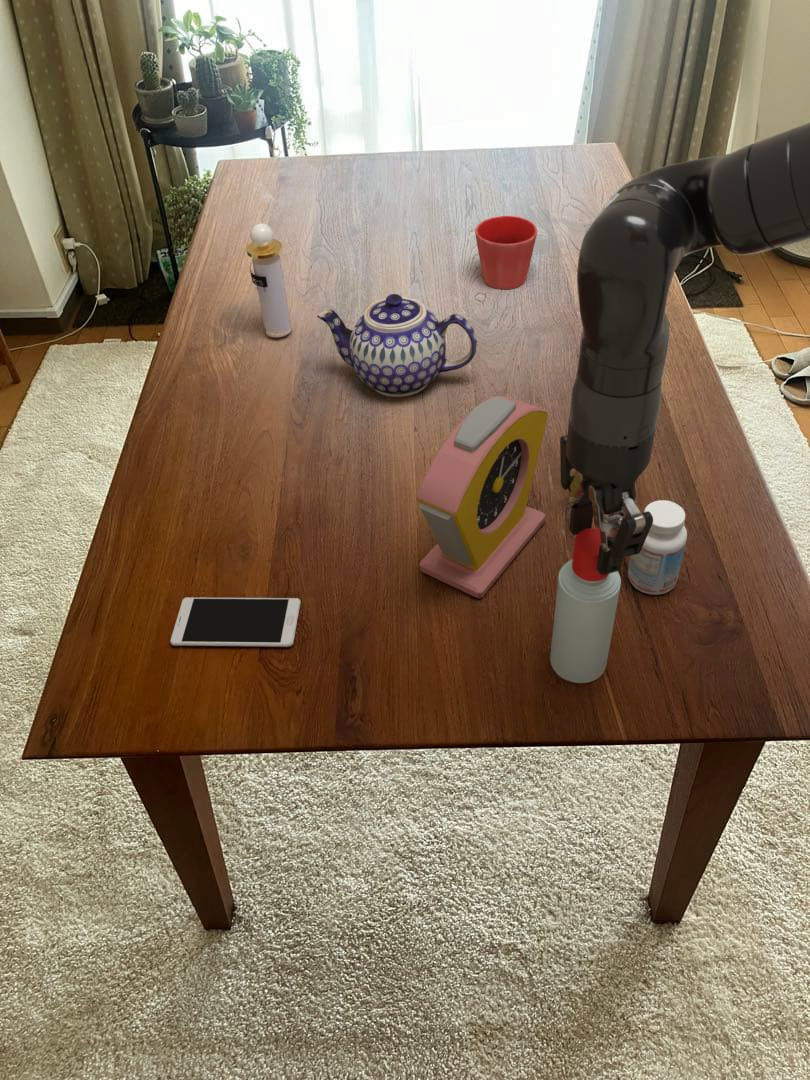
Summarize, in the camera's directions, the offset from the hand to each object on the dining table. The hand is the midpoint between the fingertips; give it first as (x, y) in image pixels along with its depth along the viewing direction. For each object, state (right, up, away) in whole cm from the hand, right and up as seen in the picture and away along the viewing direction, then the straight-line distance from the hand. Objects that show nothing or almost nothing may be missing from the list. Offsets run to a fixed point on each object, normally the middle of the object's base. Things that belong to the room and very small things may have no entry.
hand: (593, 550), depth 90 cm
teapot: (-20, +27, +54) cm, 64 cm away
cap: (0, -2, +2) cm, 3 cm away
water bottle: (+1, -13, +13) cm, 18 cm away
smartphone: (-40, -9, +20) cm, 45 cm away
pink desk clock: (-9, 0, +27) cm, 28 cm away
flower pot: (-1, +49, +75) cm, 89 cm away
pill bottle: (+12, -4, +21) cm, 25 cm away
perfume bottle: (-41, +37, +66) cm, 86 cm away
